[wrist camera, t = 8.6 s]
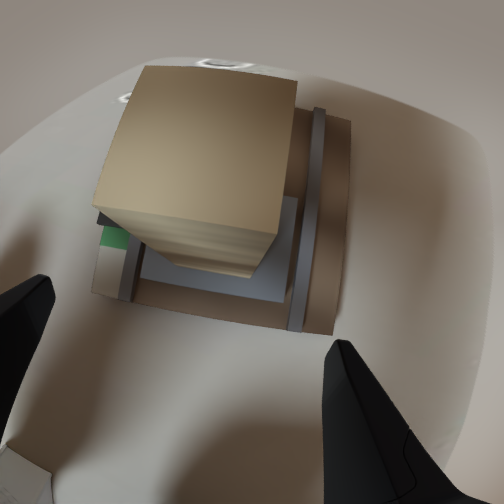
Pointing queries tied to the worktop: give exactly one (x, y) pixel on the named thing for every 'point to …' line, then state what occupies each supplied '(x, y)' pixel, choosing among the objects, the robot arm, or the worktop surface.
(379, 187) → the worktop surface
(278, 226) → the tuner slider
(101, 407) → the worktop surface
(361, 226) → the worktop surface
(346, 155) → the board
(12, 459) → the skyscraper
